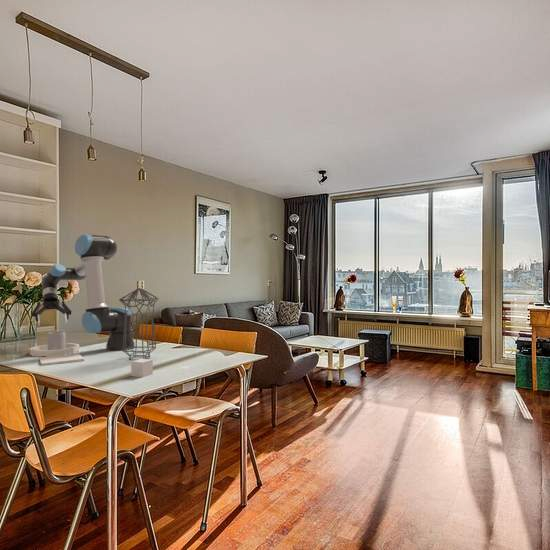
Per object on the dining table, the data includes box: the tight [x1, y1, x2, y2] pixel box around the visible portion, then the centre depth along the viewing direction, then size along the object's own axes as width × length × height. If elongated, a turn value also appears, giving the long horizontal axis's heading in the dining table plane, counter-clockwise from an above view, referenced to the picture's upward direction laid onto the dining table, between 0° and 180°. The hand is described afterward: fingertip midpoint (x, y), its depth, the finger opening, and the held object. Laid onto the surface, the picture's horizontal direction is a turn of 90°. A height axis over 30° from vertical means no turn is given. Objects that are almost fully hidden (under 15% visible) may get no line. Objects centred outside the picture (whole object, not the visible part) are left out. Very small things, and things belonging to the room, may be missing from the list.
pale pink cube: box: [130, 358, 154, 378], centre depth 168 cm, size 6×6×6 cm
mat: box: [38, 352, 85, 366], centre depth 200 cm, size 18×18×1 cm
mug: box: [47, 330, 66, 350], centre depth 221 cm, size 12×8×11 cm
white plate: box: [29, 342, 80, 357], centre depth 221 cm, size 23×23×3 cm
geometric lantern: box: [118, 287, 160, 361], centre depth 202 cm, size 16×16×35 cm
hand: (52, 324), depth 230 cm, fingers open, 13 cm apart
